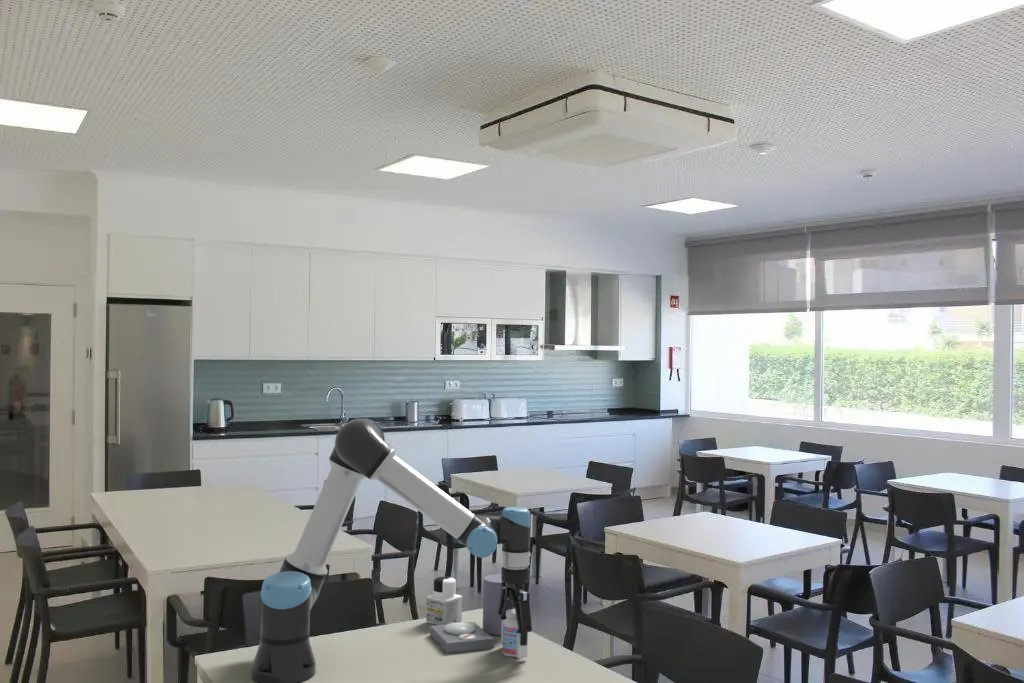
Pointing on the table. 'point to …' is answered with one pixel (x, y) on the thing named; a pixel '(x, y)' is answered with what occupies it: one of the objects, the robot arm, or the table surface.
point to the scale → (461, 637)
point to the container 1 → (444, 603)
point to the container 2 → (492, 604)
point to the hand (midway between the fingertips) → (513, 650)
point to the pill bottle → (510, 634)
